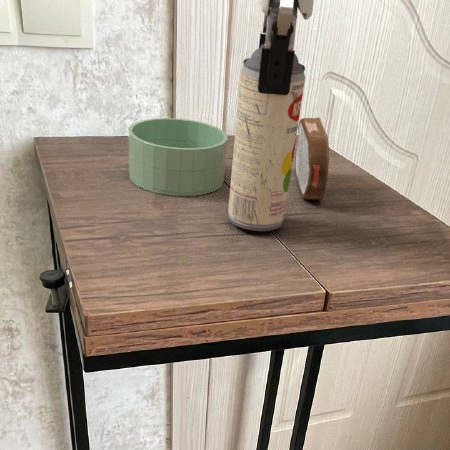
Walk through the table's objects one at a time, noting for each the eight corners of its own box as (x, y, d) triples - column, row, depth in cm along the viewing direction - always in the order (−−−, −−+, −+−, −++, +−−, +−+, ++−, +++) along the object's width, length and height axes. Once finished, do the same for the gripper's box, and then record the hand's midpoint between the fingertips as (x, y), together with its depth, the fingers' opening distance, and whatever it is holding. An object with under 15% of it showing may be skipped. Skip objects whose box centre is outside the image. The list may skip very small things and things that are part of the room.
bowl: (224, 166, 92) (228, 123, 88) (222, 200, 81) (226, 153, 78) (135, 157, 91) (135, 114, 87) (122, 190, 81) (121, 143, 77)
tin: (323, 210, 82) (336, 144, 77) (299, 208, 82) (311, 142, 76) (310, 170, 94) (320, 110, 88) (289, 168, 93) (298, 108, 88)
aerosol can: (283, 233, 73) (312, 40, 61) (225, 227, 74) (242, 32, 61) (284, 211, 79) (311, 28, 66) (230, 204, 79) (246, 21, 66)
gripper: (353, -134, 49) (313, 110, 60) (329, -129, 62) (300, 69, 74) (257, -144, 49) (235, 102, 60) (254, -137, 62) (237, 63, 73)
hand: (271, 83), depth 67 cm, fingers closed on aerosol can, 6 cm apart
